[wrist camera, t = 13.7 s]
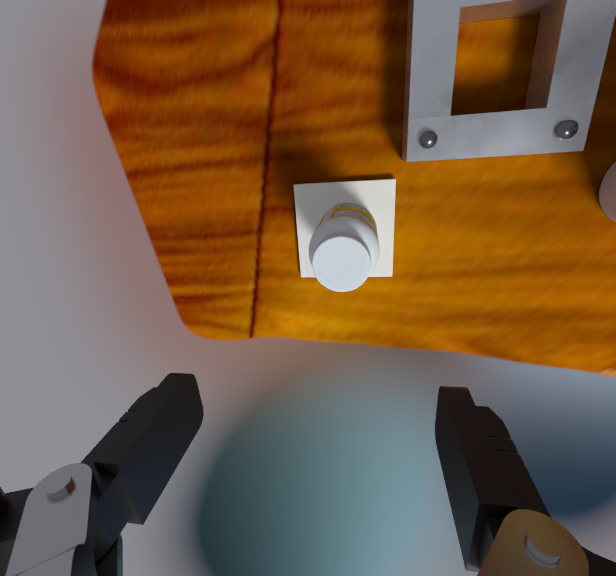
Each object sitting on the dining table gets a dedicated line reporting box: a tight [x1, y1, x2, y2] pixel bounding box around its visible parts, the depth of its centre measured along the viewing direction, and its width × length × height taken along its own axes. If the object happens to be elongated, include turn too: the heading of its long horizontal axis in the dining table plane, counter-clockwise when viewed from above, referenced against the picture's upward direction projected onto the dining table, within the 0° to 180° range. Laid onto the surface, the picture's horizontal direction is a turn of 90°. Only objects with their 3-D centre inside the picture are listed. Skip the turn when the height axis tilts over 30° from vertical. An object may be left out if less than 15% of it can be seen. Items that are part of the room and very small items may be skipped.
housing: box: [402, 0, 616, 162], centre depth 23 cm, size 12×12×4 cm
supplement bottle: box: [309, 203, 380, 292], centre depth 27 cm, size 5×5×10 cm
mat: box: [294, 179, 396, 277], centre depth 31 cm, size 9×9×1 cm
